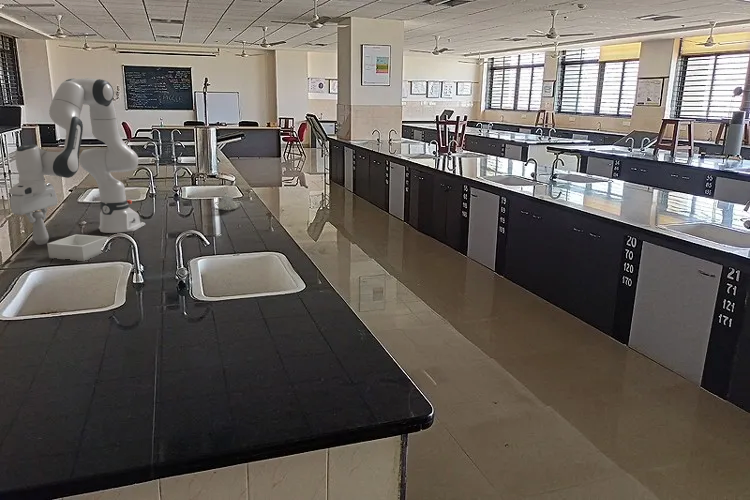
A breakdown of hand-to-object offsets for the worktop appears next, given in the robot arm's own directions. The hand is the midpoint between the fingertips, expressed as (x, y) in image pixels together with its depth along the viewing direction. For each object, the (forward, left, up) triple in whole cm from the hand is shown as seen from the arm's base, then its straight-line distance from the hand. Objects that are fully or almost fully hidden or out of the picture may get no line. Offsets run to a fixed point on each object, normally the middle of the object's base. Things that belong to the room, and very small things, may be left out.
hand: (37, 220), depth 232 cm
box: (-6, +13, -14) cm, 20 cm away
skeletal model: (-106, +29, -15) cm, 111 cm away
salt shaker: (0, 0, -10) cm, 10 cm away
